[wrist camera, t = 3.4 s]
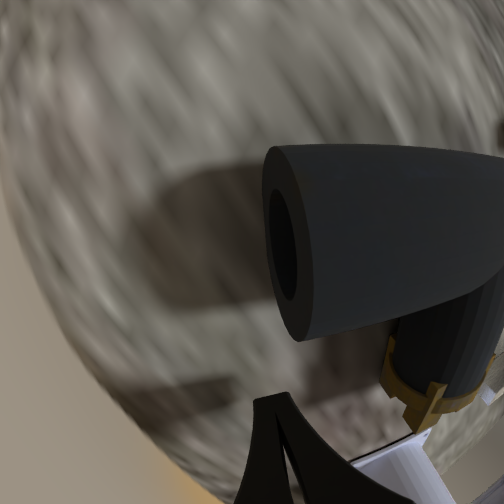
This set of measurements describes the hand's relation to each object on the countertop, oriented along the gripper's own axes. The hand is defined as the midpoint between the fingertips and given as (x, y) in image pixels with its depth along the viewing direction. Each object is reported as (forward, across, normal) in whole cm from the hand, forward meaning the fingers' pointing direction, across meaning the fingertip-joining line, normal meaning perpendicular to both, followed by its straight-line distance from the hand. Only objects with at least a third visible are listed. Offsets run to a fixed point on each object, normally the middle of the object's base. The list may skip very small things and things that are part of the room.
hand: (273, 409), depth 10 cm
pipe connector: (+2, -8, -3) cm, 9 cm away
